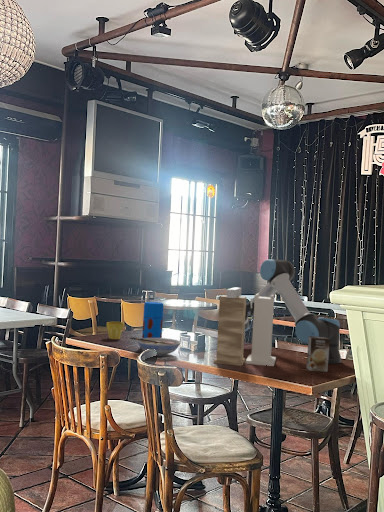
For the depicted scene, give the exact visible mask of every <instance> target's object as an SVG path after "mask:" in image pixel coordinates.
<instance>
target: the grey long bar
mask: <svg viewBox="0 0 384 512" xmlns="http://www.w3.org/2000/svg"><path fill="white" fill-rule="evenodd" d="M226 296H227V298H236V297H238V296H241V297H242V287H236V286H235V287H231V288H227V289H226Z"/></svg>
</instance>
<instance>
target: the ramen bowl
mask: <svg viewBox="0 0 384 512" xmlns="http://www.w3.org/2000/svg"><path fill="white" fill-rule="evenodd" d="M130 340H136V341H137V343H138V345H139V347H140V348H141V350H142V351H144V352H146V351H145V350H147V349H155V350H156V352H157V356H156V357H164V356H166V355H169V354H171V353H173V352H175V351H176V350H177V349H178V348H179V347H180V344H181V340H177V339H175V338H174V339H173V338H165V337H162V338H142V337H141V338H138V337H130Z"/></svg>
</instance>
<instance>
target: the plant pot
mask: <svg viewBox="0 0 384 512" xmlns="http://www.w3.org/2000/svg"><path fill="white" fill-rule="evenodd" d="M124 326H125V323H124V322H121V321H107V322H106V329H107V334H108V338H109V339H110V340H120V339H121V338H122V337H121V336H122V333H123V330H124Z"/></svg>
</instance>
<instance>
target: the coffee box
mask: <svg viewBox="0 0 384 512" xmlns="http://www.w3.org/2000/svg"><path fill="white" fill-rule="evenodd" d="M329 342H330V339H329V338H326V337H314V336H309V339H308V343H307V354H306V368H305V369H307V370H308V371H310V372H325V373H326V372H328V370H329V368H328V367H329V363H328V356H329Z"/></svg>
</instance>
